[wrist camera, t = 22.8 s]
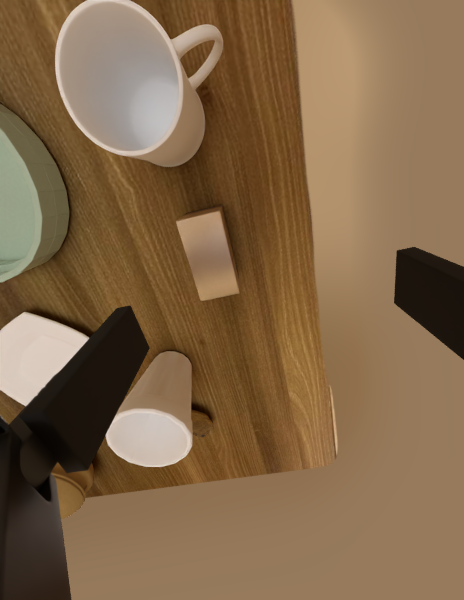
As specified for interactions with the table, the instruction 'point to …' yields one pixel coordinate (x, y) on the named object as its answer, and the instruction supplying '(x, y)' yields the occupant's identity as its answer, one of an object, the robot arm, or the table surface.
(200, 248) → the block
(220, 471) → the table surface
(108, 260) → the table surface
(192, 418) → the ginger root
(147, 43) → the mug
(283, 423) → the table surface
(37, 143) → the bowl
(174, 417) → the cup
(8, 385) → the plate
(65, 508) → the pot
